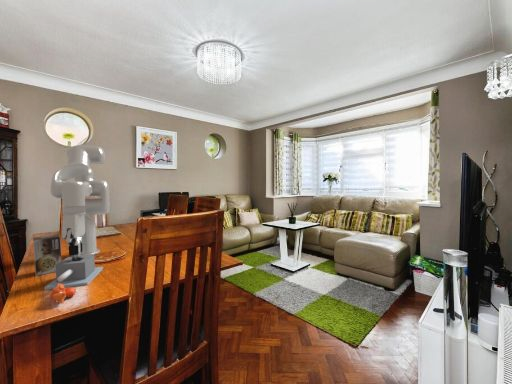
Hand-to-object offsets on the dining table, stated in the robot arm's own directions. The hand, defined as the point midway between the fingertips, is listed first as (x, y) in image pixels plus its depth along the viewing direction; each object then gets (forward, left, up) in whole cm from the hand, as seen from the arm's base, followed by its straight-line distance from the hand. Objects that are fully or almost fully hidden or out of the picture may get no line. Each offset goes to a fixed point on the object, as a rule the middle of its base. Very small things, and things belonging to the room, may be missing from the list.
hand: (75, 253), depth 97 cm
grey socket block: (+2, 0, -11) cm, 11 cm away
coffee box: (-13, -16, -11) cm, 24 cm away
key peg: (0, 0, -4) cm, 4 cm away
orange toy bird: (+19, +3, -11) cm, 22 cm away
